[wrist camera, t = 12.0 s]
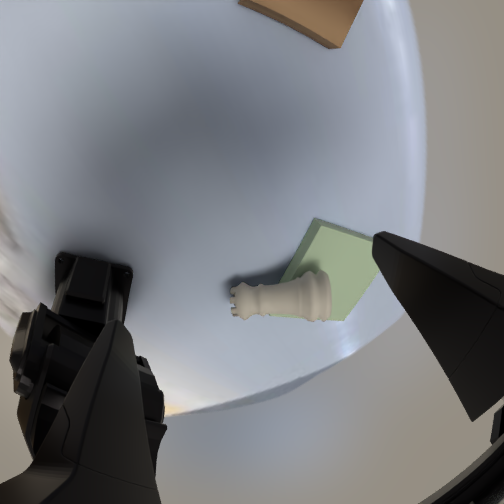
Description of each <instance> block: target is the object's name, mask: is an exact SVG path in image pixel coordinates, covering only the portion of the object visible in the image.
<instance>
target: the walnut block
mask: <svg viewBox="0 0 504 504" xmlns="http://www.w3.org/2000/svg"><path fill="white" fill-rule="evenodd" d="M362 3H363V0H240V1H239V2H238V4H240V5H243V6H245V7H248V8H250V9H252V10H255V11H257V12H259V13H262V14H264V15H266V16H268V17H270V18H273V19H275V20H277V21H279V22H281V23H283V24H285V25H287V26H289V27H291V28H293V29H295V30H296V31H298V32H300V33H302V34H304V35H306V36H307V37H309V38H311V39H313V40H314V41H316V42H318V43H320V44H321V45H323V46H325V47H326V48H328V49H336V48H341V46H342V44H343V42H344V40H345V38H346V35H347V33H348V31H349V29H350V27H351V25H352V23H353V21H354V19H355V17H356V15H357V13H358V11H359V9H360V7H361V5H362Z"/></svg>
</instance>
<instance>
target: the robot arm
mask: <svg viewBox="0 0 504 504" xmlns="http://www.w3.org/2000/svg"><path fill="white" fill-rule="evenodd" d="M372 257H373V259H374V261H375V263H376V264H377V266H378V268H379V269H380V271H381V273H382V275H383V276H384V278H385V280H386V282H387V283H388V285H389V287H390V288H391V290H392V292H393V293H394V295H395V296H396V298H397V299H398V300H399V302H400V303H401V305H402V306H403V308H404V309H405V311H406V312H407V313H408V315H409V316H410V318H411V319H412V321H413V322H414V324H415V325H416V327H417V328H418V330H419V331H420V333H421V334H422V336H423V338H424V339H425V341H426V342H427V344H428V346H429V347H430V349H431V350H432V352H433V354H434V355H435V357H436V359H437V360H438V362H439V364H440V365H441V367H442V369H443V370H444V372H445V374H446V375H447V377H448V378H449V381H450V383H451V384H452V386H453V388H454V390H455V392H456V393H457V395H458V397H459V399H460V401H461V403H462V404H463V406H464V408H465V410H466V412H467V414H468V416H469V418H470V420H471V421H472V422H473V421H474V420H476V419H477V418H478V417H479V416H481V415H482V414H483V413H485V412H486V411H487V410H488V409H490V408H491V407H492V406H493V405H494V404H496V403H497V402H498V401H499V400H500V399H502V400H503V402H504V275H502V274H498V273H496V272H493V271H490V270H487V269H485V268H482V267H480V266H477V265H474V264H472V263H470V262H467V261H465V260H462V259H460V258H457V257H454V256H452V255H449V254H447V253H444V252H442V251H439V250H436V249H434V248H431V247H428V246H425V245H423V244H420V243H417V242H414V241H412V240H409V239H406V238H403V237H400V236H397V235H394V234H391V233H389V232H386V231H382V232H379V233H376V234H375V235H374V236H373V244H372ZM60 258H62V259H63V260H64V261H62V260H60ZM125 272H128V273H129V274H125ZM132 278H133V270H132V268H130V267H128V266H123V265H118V264H113V263H108V262H105V261H100V260H95V259H90V258H86V257H81V256H76V255H71V254H67V253H61V252H60V253H58V254H57V256H56V259H55V292H56V296H55V299H54V302H53V306H52V309H51V310H49V309H48V308H47V306H46V305H44V304H43V303H41V302H40V304H39V305H38V307H37V309H36V310H35V309H34V311H33V312H23V313H22V315H21V317H20V320H19V323H18V326H17V329H16V332H15V335H14V339H13V343H12V348H11V354H10V360H9V361H10V363H11V366H12V368H13V380H14V392H15V393H16V394H18V395H20V400H19V405H18V409H17V417H18V421H19V424H20V427H21V430H22V433H23V436H24V439H25V441H26V444H27V446H28V449H29V452H30V454H31V457H32V459H33V462H32V463H31V465H30V466H29V467H28V468H27V469H26V470H25V471H24V472H23V473H21V474H19V475H17V476H15V477H13V478H11V479H9V480H7V481H5V482H3V483H1V484H0V504H161V501H160V497H159V492H158V490H157V484H156V480H155V476H156V461H157V453H158V449H159V446H160V442H161V440H162V438H163V436H164V434H165V432H166V430H167V425H166V424H162V423H163V419H164V412H165V406H164V394H163V392H162V390H159V388H158V385H157V382H156V379H155V376H154V375H153V373H152V371H151V369H150V366H149V364H148V361H147V359H146V358H144V357H142V356H139V357H138V356H136V355H135V351H134V345H133V339H132V336H131V334H130V333H129V331H128V330H127V329H126V327H125V326H124V321H125V315H126V309H127V304H128V298H129V293H130V288H131V283H132ZM490 442H491V444H492V446H491V447H490V448H489V449H488V450H487V451H486V452H484V453H483V454H482V455H481V456H480V457H479V458H478V459H477V460H476V461H474V462H473V463H472V464H471V465H470V466H469V467H468V468H466V469H465V470H464V471H463V472H461V473H460V474H459V475H458V476H456V477H455V478H454V479H453V480H451V481H450V482H449V483H447V484H446V485H445V486H443V487H442V488H441V489H439V490H438V491H436V492H435V493H434V494H432V495H431V496H429V497H428V498H426V499H425V500H423V501H422V502H420V503H419V504H504V404H503V405H502V406H501V407H500V408H499V409H498V410H497V411H496V412H495V414H494V420H493V427H492V433H491V439H490Z"/></svg>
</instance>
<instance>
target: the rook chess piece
mask: <svg viewBox="0 0 504 504" xmlns="http://www.w3.org/2000/svg"><path fill="white" fill-rule="evenodd" d="M230 294H233V295H234V296H235V297H230V303H234V305H235V306H236V307H231V313H232V314H233V316H239V317H240V318H242V319H243V320H246V319H248V318H249V317H250V316H252V315H255V314H260V315H261V316H265V315H266V314H290V315H295V316H298V317H299V318H300V317H304V318H305V319H306V320H308V321H311V322H314V321H315V320H316V319H317V318H318V317H319V318H320V319H321V320H322V321H323V322H324V321H326V320H327V319H328V318H329V317H330V315H331V310H332V294H331V285H330V280H329V277H328V274H327V273H326V272H324V271H323V270H321V269H320V270H319V271H318V273H317V274H316V275H315V274H314V273H313V272H311V271H308V272H305V273H304V274H303V275H302V276H301V277H300V278H299V277H297V278H296V279H295V280H292V281H289V282H285V283H280V284H275V285H265V286H264V285H263V284H259V285H258V286H255V287H251V286H249V285H247V284H246V283H244V282H242V283H241V284H239V285H238V286H237V287H232V288H231V290H230Z"/></svg>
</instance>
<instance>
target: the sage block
mask: <svg viewBox="0 0 504 504" xmlns="http://www.w3.org/2000/svg"><path fill="white" fill-rule="evenodd" d="M372 244H373V238H371V237H368V236H366V235H363V234H360V233H357V232H354V231H351V230H348V229H346V228H343V227H340V226H337V225H334V224H331V223H328V222H325V221H322V220H319V219H316V218H314V220H313V222H312V224H311V225H310V227H309V229H308V231H307V233H306V235H305V237H304V238H303V240H302V242H301V244H300V246H299V248H298V249H297V251H296V253H295V255H294V257H293V259H292V260H291V262H290V264H289V266H288V268H287V269H286V271H285V273H284V275H283V277H282V278H281V280H280V282H279V284H280V283H285V282H289V281H292V280H295V279H296V278H297V277H299V278H300V277H301V276H302V275H303V274H304V273H305V272H308V271H311V272H313V273H314V274H315V275H316V274H317V273H318V271H319V270H320V269H321V270H323V271H324V272H326V273H327V274H328V277H329V280H330V285H331V294H332V310H331V315H330V317H329V318H328V319H327V320H335V321H344V320H345V318H346V317H347V316H348V314H349V313H350V312H351V310H352V309H353V308H354V306H355V305H356V304H357V302H358V301H359V299H360V298H361V297H362V295H363V294H364V292H365V291H366V289H367V288H368V287H369V285H370V284H371V282H372V281H373V279H374V278H375V276H376V275H377V273H378V272H379V270H380V269H379V268H378V266H377V264H376V263H375V261H374V259H373V257H372ZM269 316H277V317H289V318H299V317H298V316H295V315H290V314H269ZM300 318H302V319H305V318H304V317H300ZM317 320H321V319H320V318H319V317H318V318H317Z"/></svg>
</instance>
